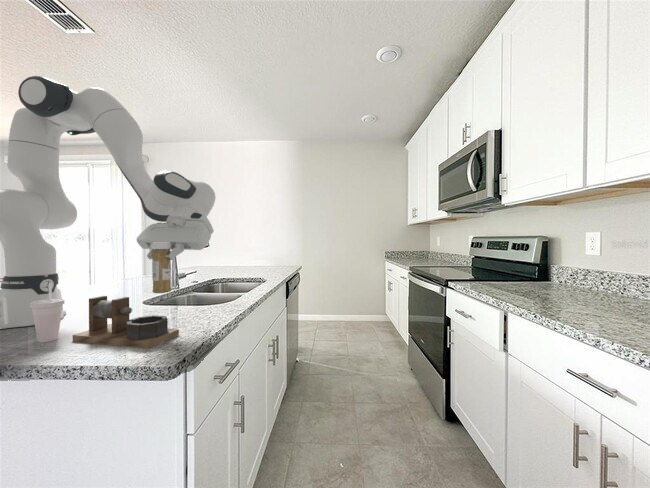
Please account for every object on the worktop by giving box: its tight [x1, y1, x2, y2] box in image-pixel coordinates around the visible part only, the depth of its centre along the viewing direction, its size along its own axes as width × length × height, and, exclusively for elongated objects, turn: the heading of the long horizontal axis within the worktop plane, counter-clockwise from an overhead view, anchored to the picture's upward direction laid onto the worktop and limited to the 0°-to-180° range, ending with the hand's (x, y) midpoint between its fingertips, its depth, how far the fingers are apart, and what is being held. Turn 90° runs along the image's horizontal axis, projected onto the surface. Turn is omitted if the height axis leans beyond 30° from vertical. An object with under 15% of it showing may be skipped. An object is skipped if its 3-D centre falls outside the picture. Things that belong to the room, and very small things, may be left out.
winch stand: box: [72, 295, 180, 349], centre depth 77 cm, size 22×10×10 cm, turn 78°
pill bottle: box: [151, 242, 172, 294], centre depth 81 cm, size 5×5×13 cm
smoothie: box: [30, 283, 65, 343], centre depth 75 cm, size 6×6×14 cm
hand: (159, 258), depth 80 cm, fingers closed on pill bottle, 4 cm apart
